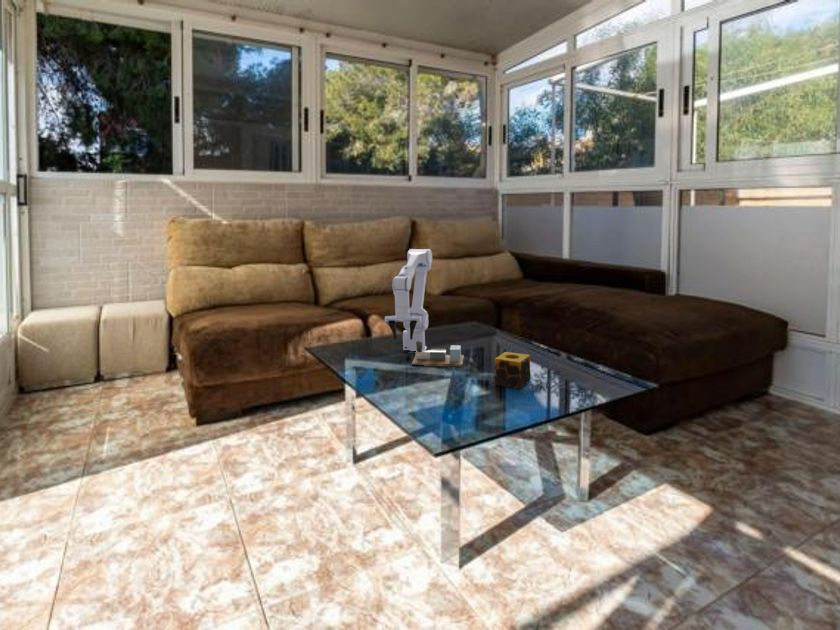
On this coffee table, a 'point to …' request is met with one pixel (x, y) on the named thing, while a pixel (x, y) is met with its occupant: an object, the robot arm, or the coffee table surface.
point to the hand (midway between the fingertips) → (403, 338)
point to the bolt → (424, 351)
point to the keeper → (455, 353)
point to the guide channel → (437, 355)
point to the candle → (512, 370)
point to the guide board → (438, 362)
